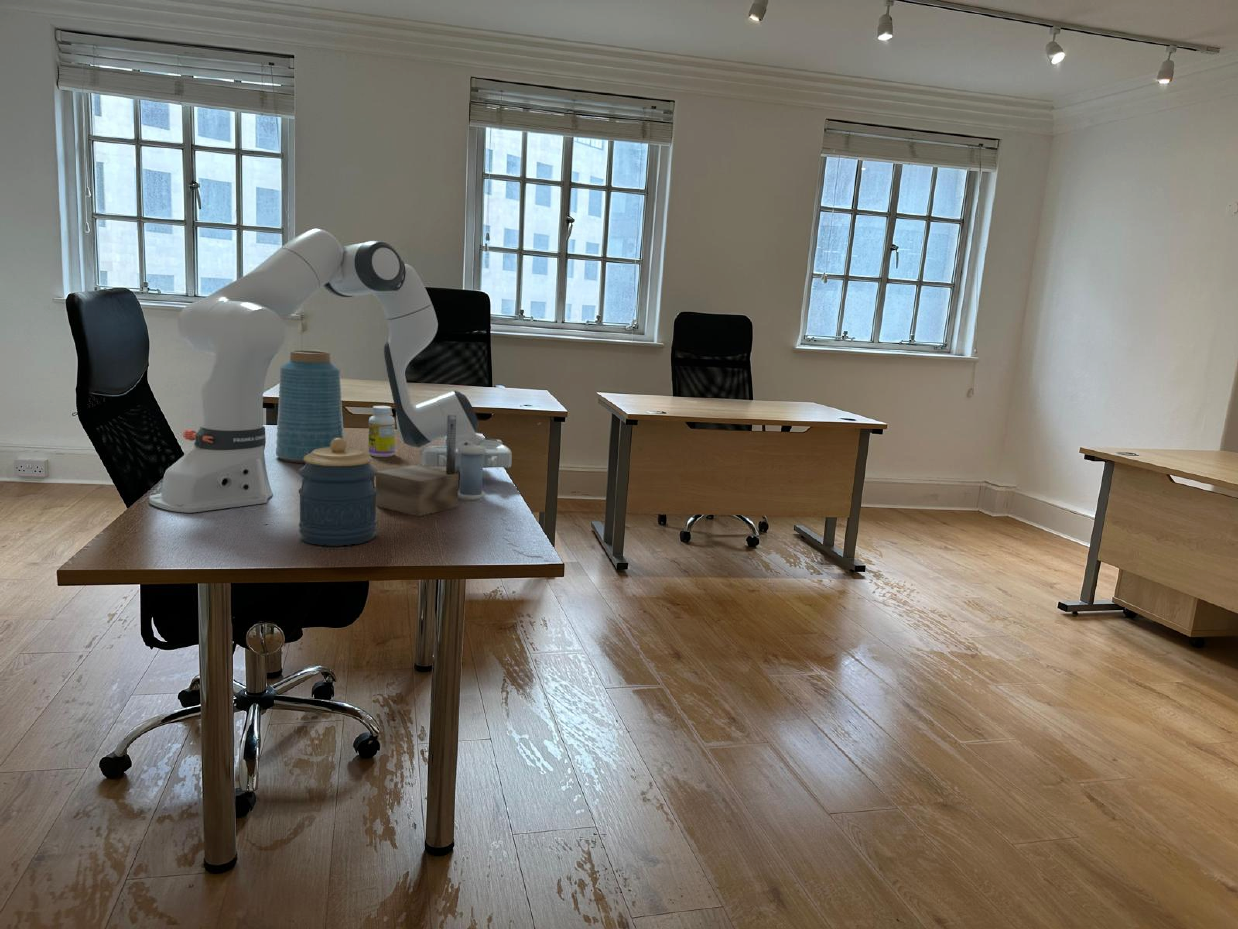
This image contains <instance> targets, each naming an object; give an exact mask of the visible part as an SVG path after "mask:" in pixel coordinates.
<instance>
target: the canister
mask: <svg viewBox="0 0 1238 929" xmlns="http://www.w3.org/2000/svg"><path fill="white" fill-rule="evenodd" d="M304 461H305V462H306V463H305V465H304V466H302V467H300V469H299V470H298V472H297V473H298V475H299V476H300V477H301V486H300V488H298V494H299V523H298V527H299V528H298V532H299V534H300V539H301V540H302V541H303V542H305V543H307V544H310V545H315V544H318V545H317V546H322V545H326V546H325V547H344V546H343V545H347V546H352V545H351V544H355V545H360V544H364V543H366V541H367V542H369V541H371V540H372V539H374V538H375V536H376V532H377V529H378V528H377V525H378V524H377V506H376V492H377V489H376V485H375V478H376V474H377V472H378V470H377V469H376V468H375V467H374V466H372V465H371V462H372V461H373V456H371V455H369V453H366V452H365V451H364V450H363V449H360V448H358V447H357V448H356V447H349V446H347V443H346V441H345V439H344V438H343V439H342V438H335V439H333V440H332V441H331V444H330V447H326V448H319V449H315V450H313V451H312V452H311V453H310V454H308V455H306V456H305V457H304ZM363 542H364V543H363Z"/></svg>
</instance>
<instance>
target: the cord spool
mask: <svg viewBox="0 0 1238 929" xmlns="http://www.w3.org/2000/svg"><path fill="white" fill-rule="evenodd" d="M458 452H459V453H461V462H460V471H459V490H458V498H460V499H459V500H461V499H463V500H462V501H469V500H475V501H481V500H480V499H482V500H484V499H485V498H486V495H485V494H486V493H485V492H484V491H483V476H484V474H483V473H484V468H483V454H485V453H486V447H484V446H479V445H461V446H458ZM484 497H485V498H484ZM483 498H484V499H483Z"/></svg>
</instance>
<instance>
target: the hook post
mask: <svg viewBox="0 0 1238 929" xmlns="http://www.w3.org/2000/svg"><path fill="white" fill-rule="evenodd" d="M455 452H456V415H447V452H446V467H445V471H446V474H450V475H452V474H455V473H456V469H455Z"/></svg>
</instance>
